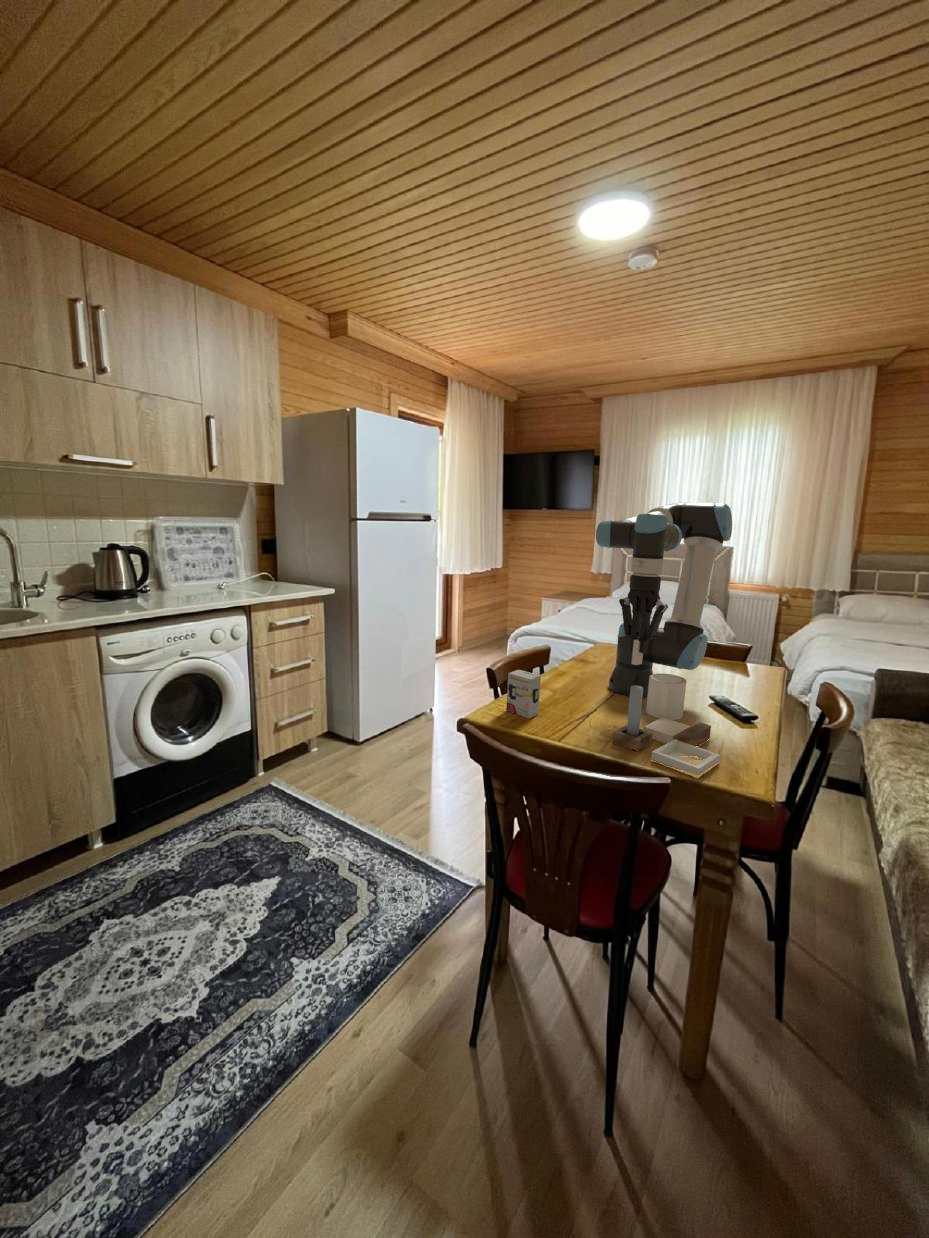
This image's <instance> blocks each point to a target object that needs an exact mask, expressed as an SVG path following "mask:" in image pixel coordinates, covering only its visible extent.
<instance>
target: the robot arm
mask: <svg viewBox="0 0 929 1238" xmlns="http://www.w3.org/2000/svg"><path fill="white" fill-rule="evenodd" d="M732 534H733V516H732V510H731V507H730V506H729V505H728V504H726V503H720V502H719V503H718V502H676V503H671V504H665V505H662V506H659V507H654V508H652V509H650V510H649V511H647V512H646V513H645V512H643V513H639V514H638V515H635V516H633V517H629V518H626V519H625V518H624V519H621V520H612V519H611V520H610V519H609V520H602V521H600V522H599V523H598V525H597V526H596V530H595V540H596V543H597V546H599V547H603V548H608V549H628V550H629V549H631V550H632V555H631V556H632V559H631V567H630V568H631V569H630V571H631V573H632V574H631V575H630V577H629V591H628V593H627V596H625V597H624V598H620V599H619V600H618V601H619V605H620V606H621V613H622V614H621V615H622V621H623V623H621V624H620V625H619V627H618V634H617V645H616V646H617V647H616V657H615V666H614V668H613V671H612V673H611V674H610V677H609V680H608V686H607V687H608V689H609V690H610V691H612V692H614V693H617V694H618V695H619V694H620V695H624V696H629V697H630V689H631V686H634V685H636V686H641V687H643V696H642V697H647V696H648V686H649V676H650V675H652V674H654V672H653V665H654V664H655V665H661V666H666V667H671V668H676V669H679V670H688V671H692V670H696V669H697V668H698V667H699V666H700V665H701V663H702V661H703V659H704V658H705V655H706V652H707V651H706V650H707V648H708V643H709V642H708V639H709V638H708V635H706V634H705V633H704V630H705V629H704V627H703V626H702V624H701V619H702V615H703V610H704V606H705V601H706V597H707V593H708V589H709V583H710V579H711V574H712V571H713V565H714V561H715V558H716V556H715V555H716V552H717V551H719V550H720V549H722V548H723V544H724V542H728V541H730V540H731V537H732ZM682 540H683V544H684V545H685V547H686V552H685V556H684V561H683V564H682V569H681V573H680V577H679V583H678V585H677V591H676V596H675V599H674V603H673V607H672V608H673V609H672V613H671V616H670V618H669V619H667V620H665V621H664V625H663V627H660V624H661V622H662V618H663V615H664V614H665V612H666V611H667V610H668V608H669V605H668V604H667V603H666V604H665V603H663V601H661V597H660V591H661V582H662V577H661V576H660V575H662V574H663V563H664V555H665V554H664V553H665V552H669V551H672V550H675V549H676V548H678V547H679V545H680V544H681V543H682ZM631 607H632V608H631ZM654 608H655V610H654V613H653V609H654ZM652 614H653V616H652ZM651 618H652V619H651Z"/></svg>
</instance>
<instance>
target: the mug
mask: <svg viewBox="0 0 929 1238" xmlns="http://www.w3.org/2000/svg"><path fill="white" fill-rule="evenodd" d="M686 688H687V679H686V678H684V677H682V676H680V675H675V674H669V673H653V674H652V675H650V676H649V686H648V696H646V697H647V698H646V706H645V711H646V713H647V715H650V716H652V717H655V718H657V719H660V718H666V719H669V720H672V721H675V720H680V719H682V718H683V715H684V706H685V698H686V692H687V691H686V690H687V689H686Z"/></svg>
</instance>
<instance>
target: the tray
mask: <svg viewBox="0 0 929 1238" xmlns="http://www.w3.org/2000/svg"><path fill="white" fill-rule="evenodd" d="M677 756H678V757H677ZM679 756H688V759H687V757H685V758H679ZM689 756H697V757H699V758H698V759H697V758H695V757H690V758H689ZM700 758H702V759H700ZM703 759H705V760H703ZM720 759H721V754H720V753H717V752H714V751H710V750H708V749H705V748H702V747H700V746H699V747H696V746H694V745H691V744H688V743H685V742H682V741H679V740H676V739H674V740H672V741H670V742H669V743H667V744H666V743H664V744H663V745H662V746H660V747H657V748H656V749H654V750H652V751H651V759H650V761H651V760H653V761H656V762H658V763H662V764H664V765H666V766H669V767H674V768H676V769H679V770H684V771H686V772H689V773H693V774H695V775H700V774H701V773H703V772H704V771H705V770H707V769H708V768H710V767H711V766H713V765H714V764H716V763H718V762H719V763H720ZM683 760H703V761H702V762H698V763H699V764H697V765H694V764H691V763H692V761H691V763H690V762H689V763H688V762H686V761H683Z"/></svg>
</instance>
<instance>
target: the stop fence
mask: <svg viewBox="0 0 929 1238" xmlns="http://www.w3.org/2000/svg"><path fill="white" fill-rule="evenodd" d="M711 728H712V725H711V724H708V723H703V722H697V723H696V724H694V725H691V727H690V728H688V729H686V730H684V731H683V732H681V733H679V734H678V740H679V741H682V742H685V743H688V744H691V745H694V746H699V745H700V744H702V743H704V742H705V743H707V742H708V741H707V740H708V739H709V740H710V739H711V738H710V737H711ZM706 741H707V742H706ZM705 743H704V744H705ZM702 745H703V744H702ZM700 746H701V745H700ZM700 746H699V747H700Z"/></svg>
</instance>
